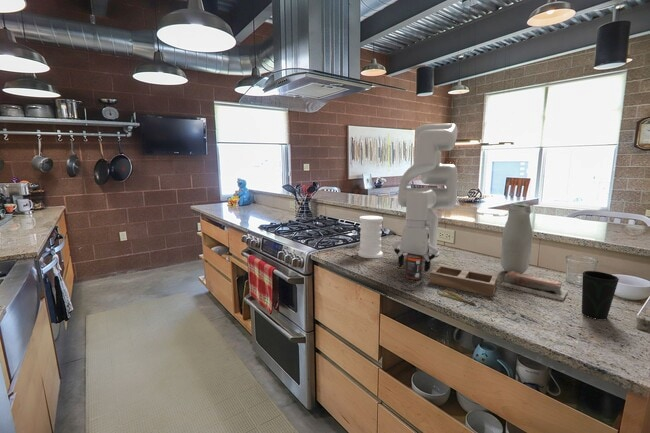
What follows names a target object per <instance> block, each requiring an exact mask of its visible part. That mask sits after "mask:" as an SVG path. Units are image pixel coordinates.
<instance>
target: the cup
mask: <svg viewBox="0 0 650 433" xmlns="http://www.w3.org/2000/svg"><path fill="white" fill-rule="evenodd" d="M619 281H620V279H619V277H618V276H616V275H613V274H610V273H608V272H607V273H606V272H602V271H596V270H595V271H594V270H586V271H583V272H582V290H581V291H582V293H581V313H583V314H584V315H583V314H582V315H583V316H585V315H586V316H585V317H587V316H589V317H588V318H590V317H592V318H591V319H593V318H596V319H595V320H597V319H606V320H607V319H608V316H609V313H610V309H611V306H612V302H613V300H614V296H615V293H616V290H617V286H618V284H619Z"/></svg>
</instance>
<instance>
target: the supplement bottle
mask: <svg viewBox="0 0 650 433" xmlns="http://www.w3.org/2000/svg"><path fill="white" fill-rule="evenodd" d="M422 272H423V256H421V255H415V254H409V253H406V256H405V272H404V273H405V277H406V278H407V279H408V280H414V281H417V280H421V279H422V274H423V273H422Z"/></svg>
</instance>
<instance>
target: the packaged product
mask: <svg viewBox="0 0 650 433" xmlns="http://www.w3.org/2000/svg"><path fill="white" fill-rule="evenodd" d="M503 277H504V280H503V282H501V287H504V286H505V287H504V288H508V287H509V288H508V289H512V288H513V289H512V290H516V289H517V290H516V291H520V290H521V291H520V292H524V291H526V292H525V293H528V292H529V293H528V294H531V293H534V294H533V295H535V294H538V295H537V296H540V295H541V296H540V297H544V296H545V297H544V298H548V297H549V299H552V298H553V300H556V299H558V300H557V301H560V300H562V301H561V302H563V301H564V300H565V298H566V296H567V294H568V291H569V290H568V289H563V288H562V284H563V283H562V281H557V280H553V279H550V278H544V277H540V276H536V275H531V274H527V273H519V272H514V271H509V272H507V273H505V274H504V276H503Z"/></svg>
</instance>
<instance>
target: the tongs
mask: <svg viewBox="0 0 650 433" xmlns="http://www.w3.org/2000/svg"><path fill="white" fill-rule="evenodd" d="M441 292H443V293H441ZM437 294H438V295H441V296H444V297H447V298H450V299H453V300H456V301H459V302H463V303H466V304H469V305H471V304H472V306H474V305H475V306H474V307H477V304H476V303H475V302H472V301H469V300H467V299H465V298H463V297H462V296H461V295H459V294H458V293H456V292H453V291H451V290H450V291H449V290H447V289H445V290H441V291H438V293H437Z"/></svg>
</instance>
